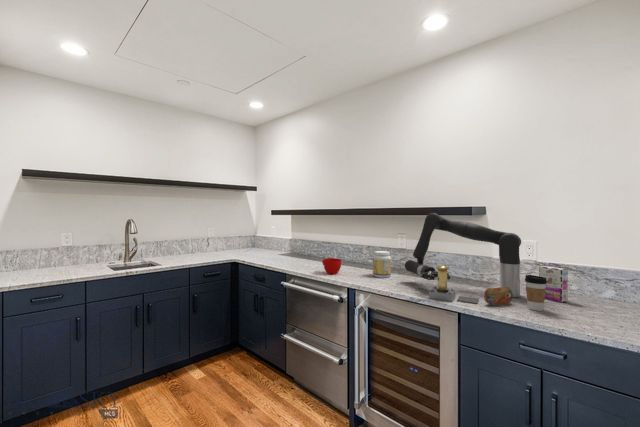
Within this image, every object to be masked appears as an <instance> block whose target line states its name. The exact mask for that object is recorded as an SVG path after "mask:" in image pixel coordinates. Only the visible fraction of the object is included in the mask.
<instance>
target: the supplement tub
mask: <svg viewBox="0 0 640 427" xmlns="http://www.w3.org/2000/svg"><path fill="white" fill-rule="evenodd" d="M373 253H374V255H373V256H372V276H373V277H375V278H379V279H380V278H381V279H382V278H383V279H385V278H390V277H391V274H392V271H391V270H392V258H391V256H390V255H391V254H390V253H391V252H390V251H387V250H376V251H374V252H373Z"/></svg>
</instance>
